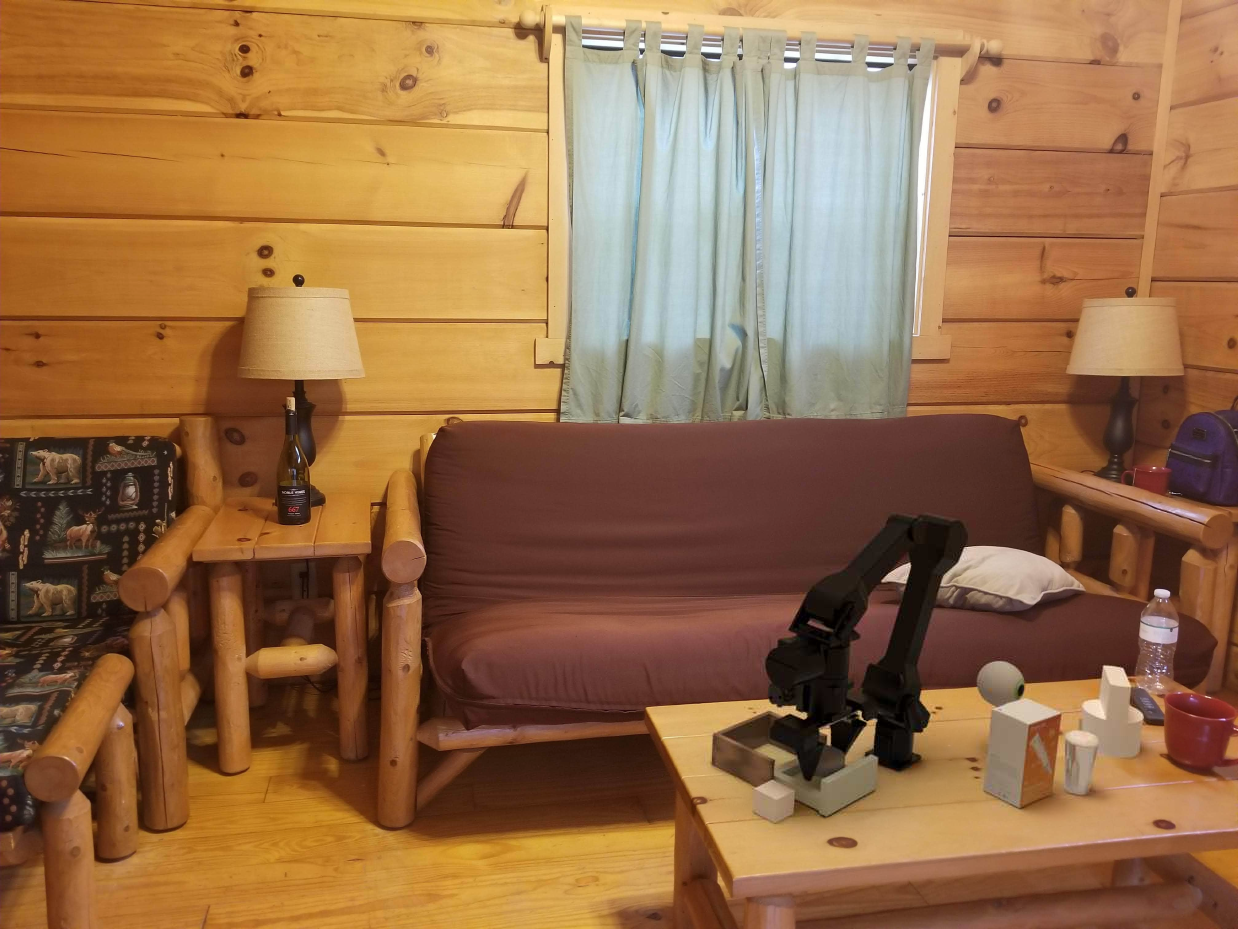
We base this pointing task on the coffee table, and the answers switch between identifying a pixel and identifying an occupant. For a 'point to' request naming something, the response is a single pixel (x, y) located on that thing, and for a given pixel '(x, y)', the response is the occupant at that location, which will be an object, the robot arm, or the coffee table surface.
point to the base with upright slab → (1114, 716)
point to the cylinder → (830, 761)
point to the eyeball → (1000, 683)
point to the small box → (1022, 752)
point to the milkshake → (1079, 760)
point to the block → (773, 801)
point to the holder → (748, 749)
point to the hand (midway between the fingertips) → (821, 773)
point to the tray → (830, 784)
